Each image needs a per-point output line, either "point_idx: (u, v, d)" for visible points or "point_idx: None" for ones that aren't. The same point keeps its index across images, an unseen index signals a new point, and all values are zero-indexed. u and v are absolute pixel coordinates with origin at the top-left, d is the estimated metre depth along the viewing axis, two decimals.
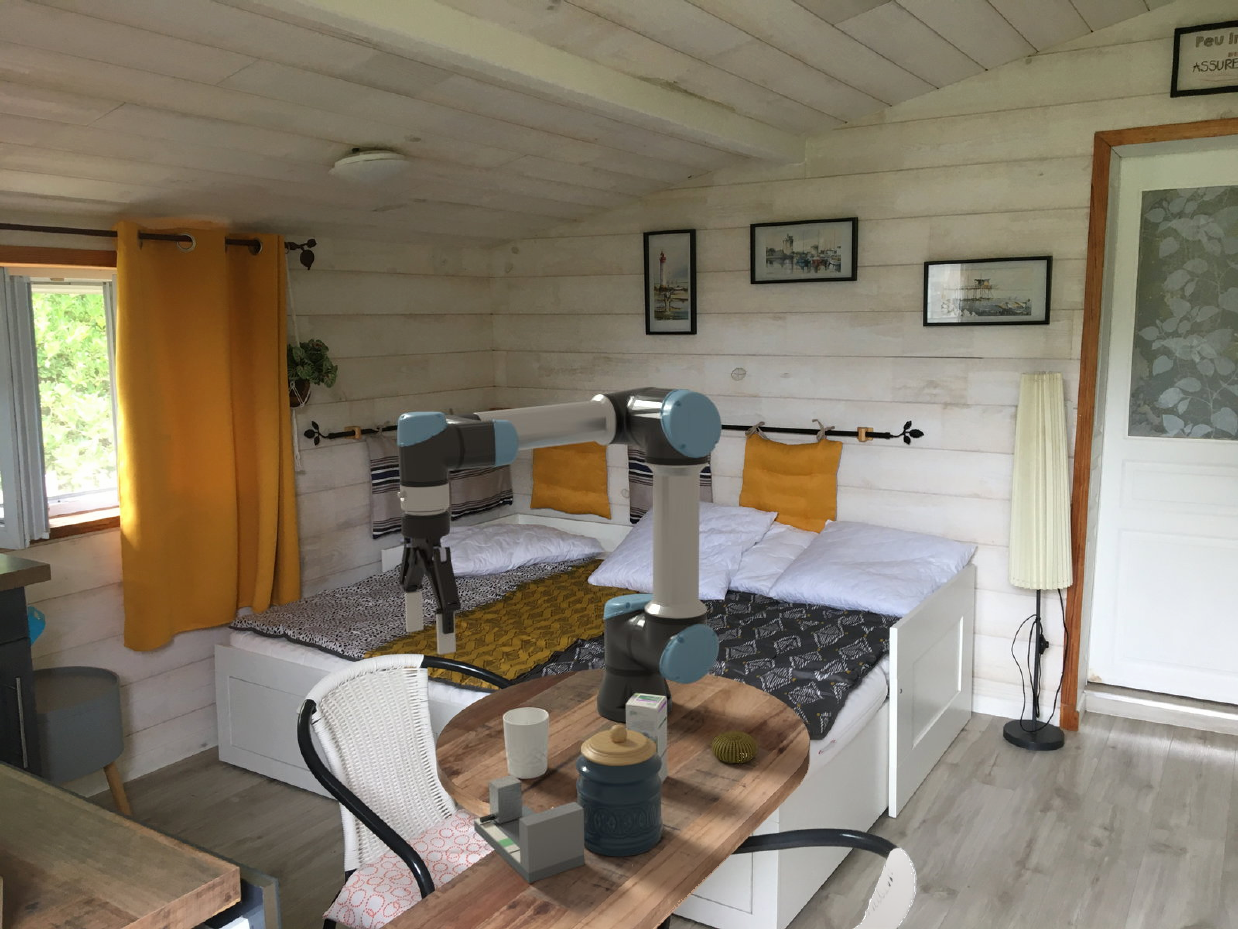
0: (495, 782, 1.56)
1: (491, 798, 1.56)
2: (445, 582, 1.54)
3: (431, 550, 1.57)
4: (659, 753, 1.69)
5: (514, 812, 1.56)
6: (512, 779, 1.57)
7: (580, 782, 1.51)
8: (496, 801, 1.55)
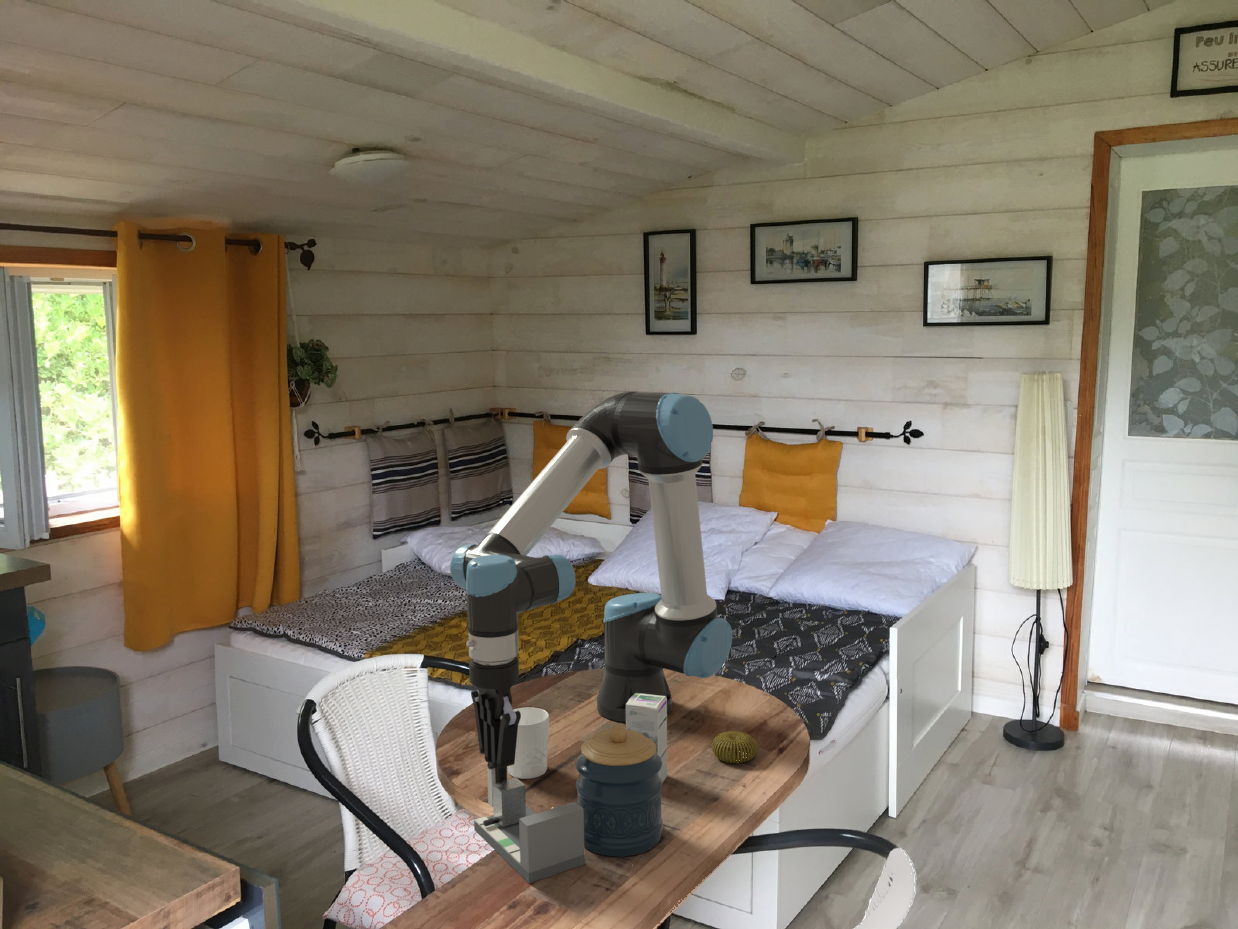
0: (499, 785, 1.55)
1: (494, 802, 1.55)
2: (507, 744, 1.53)
3: (501, 706, 1.53)
4: (659, 753, 1.69)
5: (518, 815, 1.55)
6: (516, 783, 1.56)
7: (580, 782, 1.51)
8: (499, 804, 1.54)
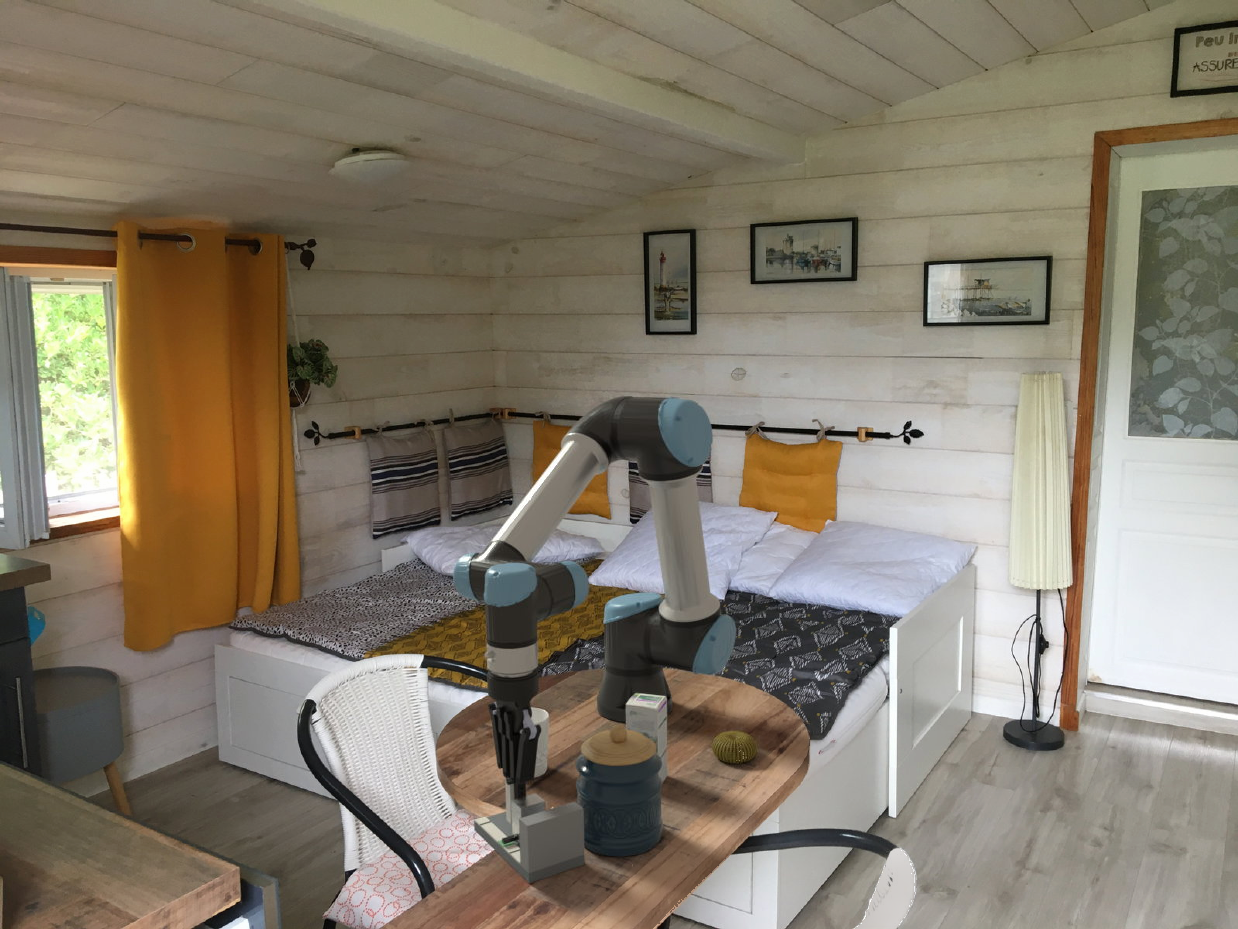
0: (518, 801, 1.50)
1: (513, 818, 1.50)
2: (527, 759, 1.48)
3: (521, 719, 1.47)
4: (659, 753, 1.69)
5: None
6: (535, 799, 1.51)
7: (580, 782, 1.51)
8: None
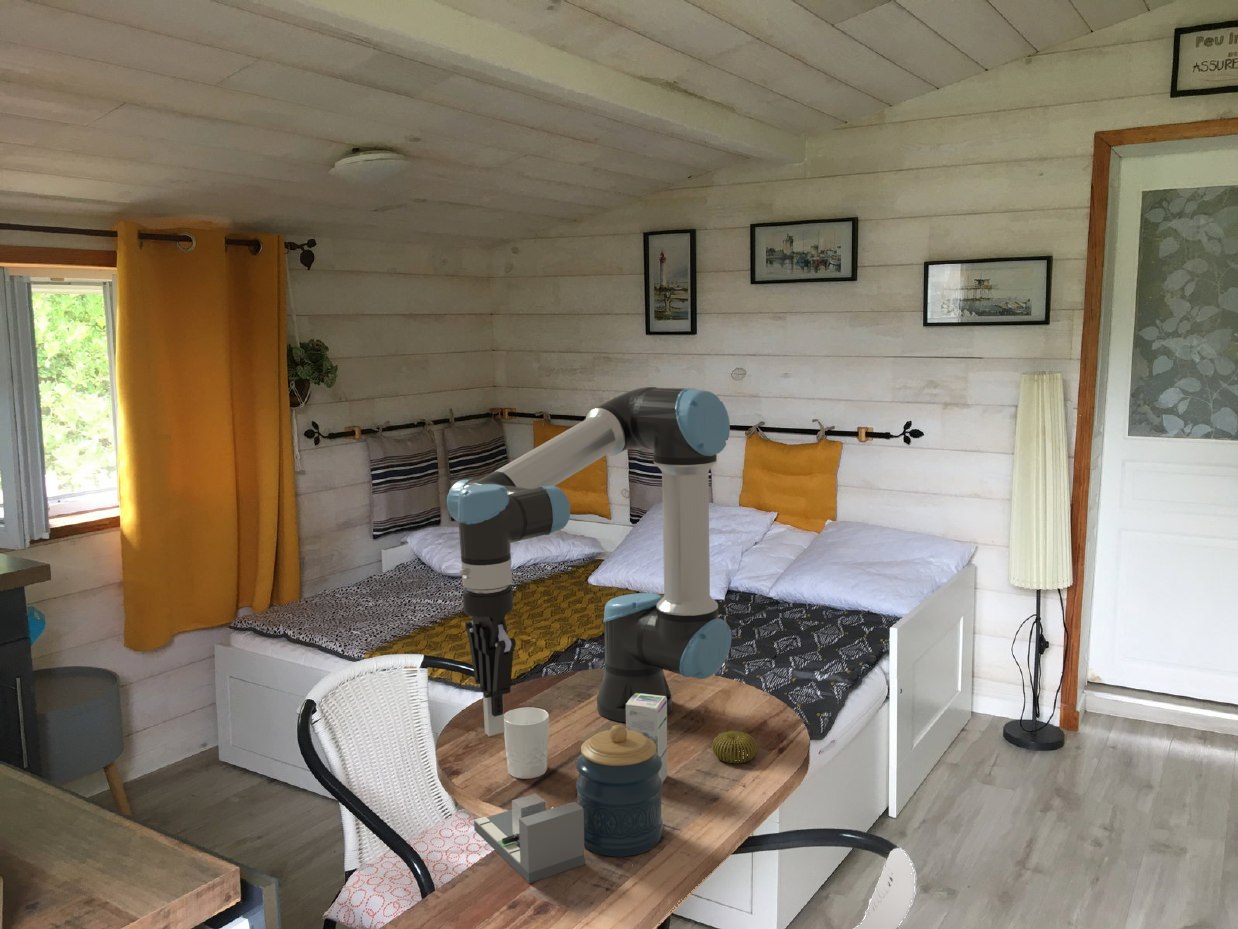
0: (518, 801, 1.50)
1: (513, 819, 1.50)
2: (502, 671, 1.54)
3: (496, 633, 1.53)
4: (659, 753, 1.69)
5: None
6: (535, 799, 1.50)
7: (580, 782, 1.51)
8: None
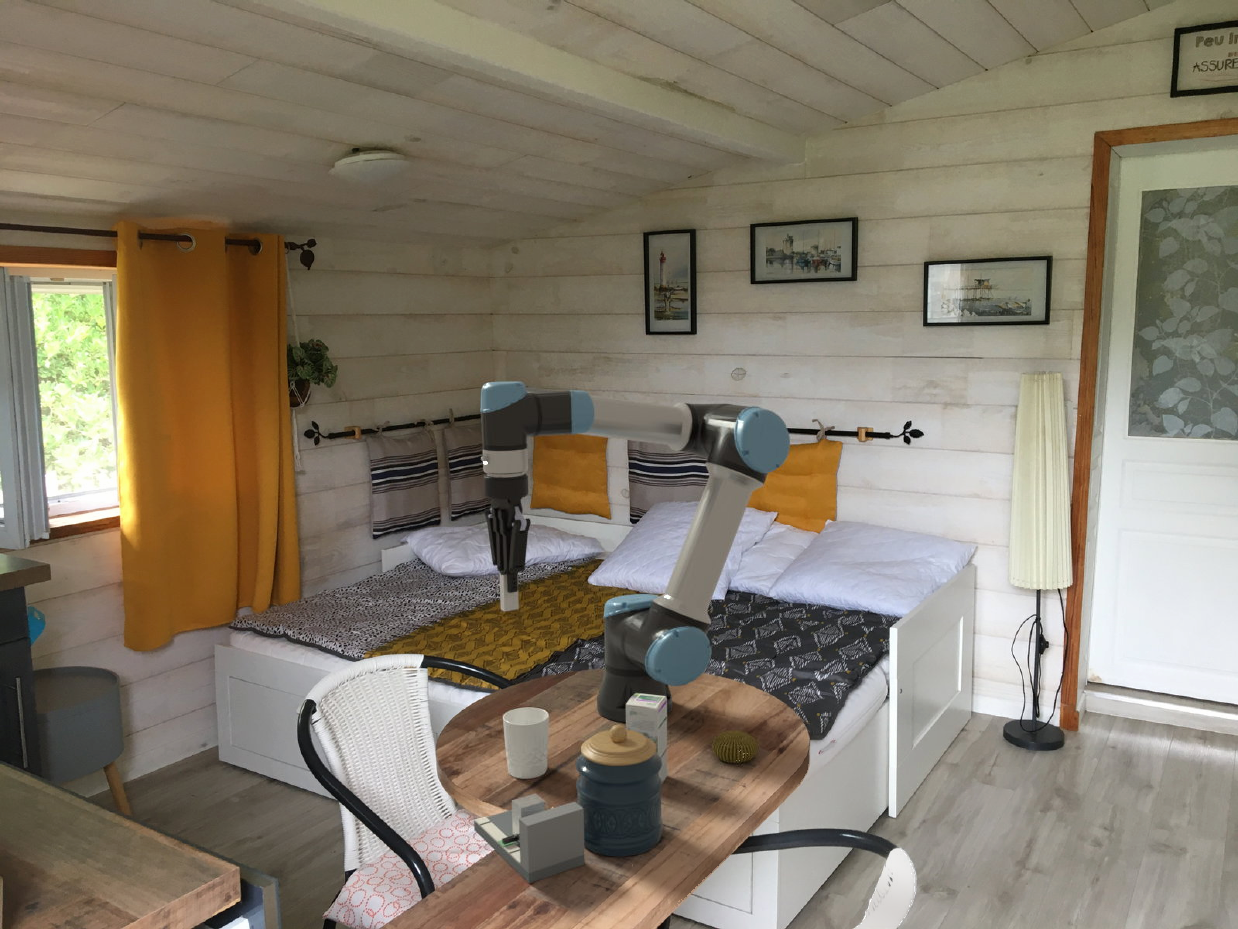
0: (518, 801, 1.50)
1: (513, 819, 1.50)
2: (518, 549, 1.70)
3: (513, 514, 1.69)
4: (659, 753, 1.69)
5: None
6: (535, 799, 1.50)
7: (580, 782, 1.51)
8: None
